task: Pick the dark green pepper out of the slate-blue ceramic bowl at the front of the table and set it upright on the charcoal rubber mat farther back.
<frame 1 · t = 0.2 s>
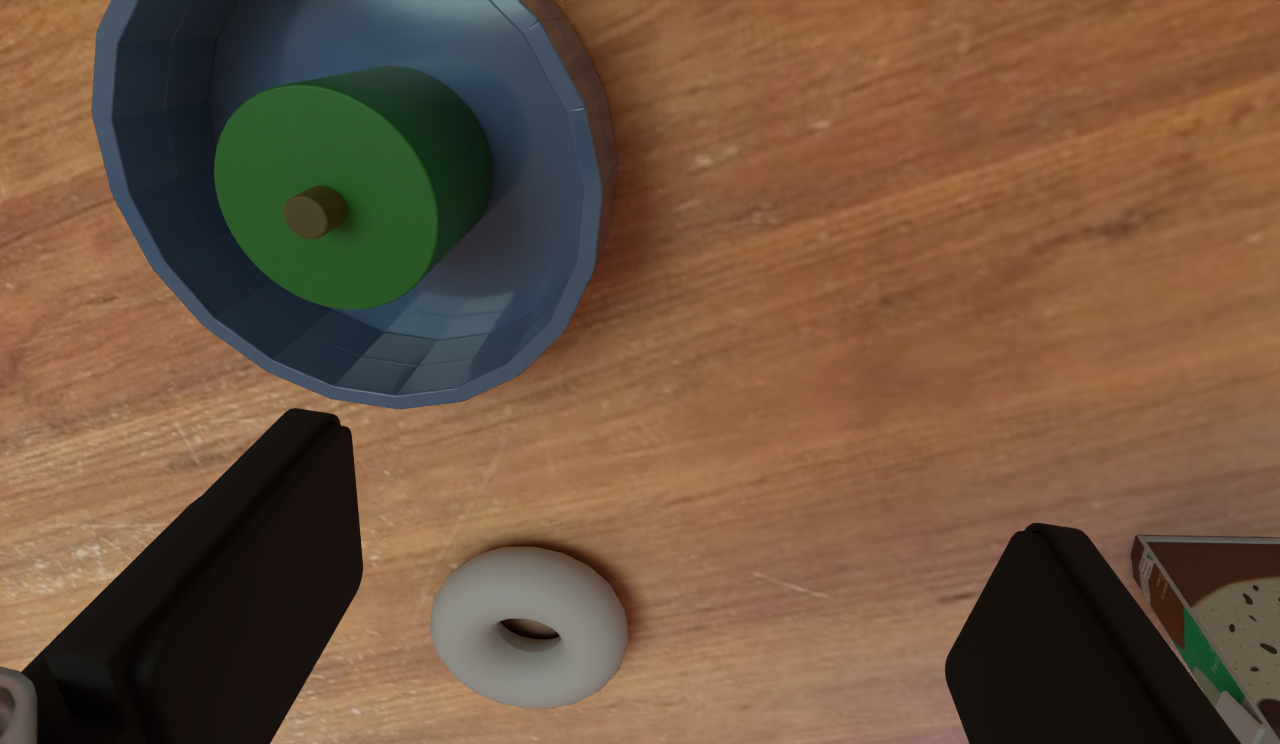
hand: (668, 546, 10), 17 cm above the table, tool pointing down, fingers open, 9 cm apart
donut: (537, 600, 36), on the table
serving bowl: (411, 160, 25), on the table
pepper: (406, 163, 24), resting on serving bowl
food container: (1218, 584, 32), on the table
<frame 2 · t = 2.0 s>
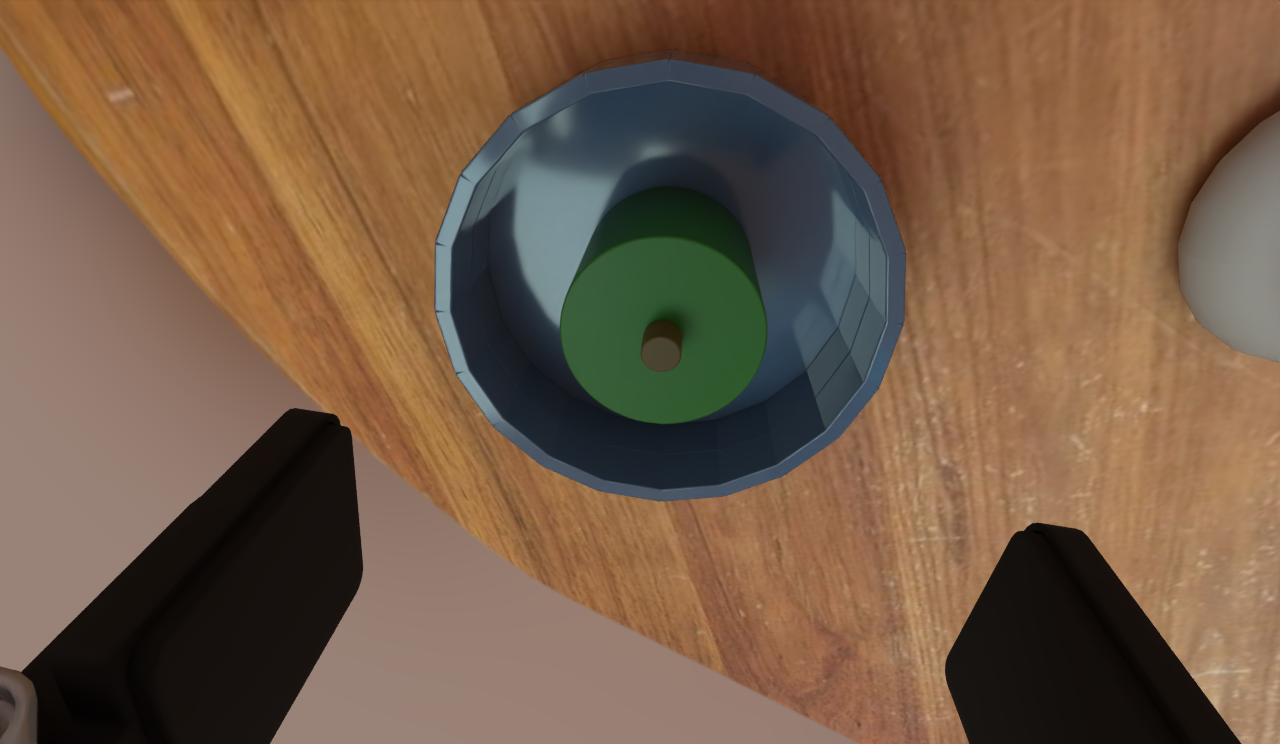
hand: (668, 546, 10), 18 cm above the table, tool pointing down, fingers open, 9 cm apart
serving bowl: (668, 265, 26), on the table
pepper: (668, 269, 26), resting on serving bowl
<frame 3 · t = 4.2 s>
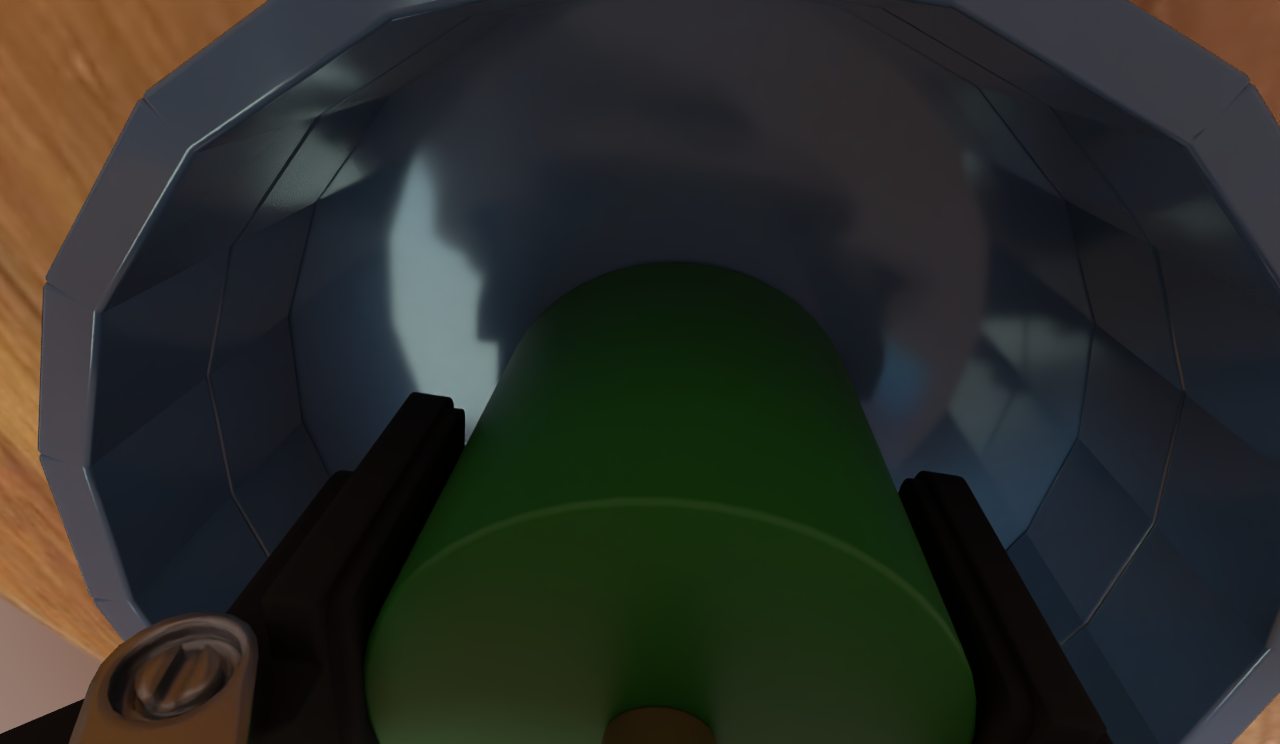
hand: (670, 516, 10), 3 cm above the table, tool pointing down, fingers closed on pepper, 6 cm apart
serving bowl: (674, 412, 13), on the table
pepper: (674, 427, 12), point 1 cm above the table, touching gripper, serving bowl
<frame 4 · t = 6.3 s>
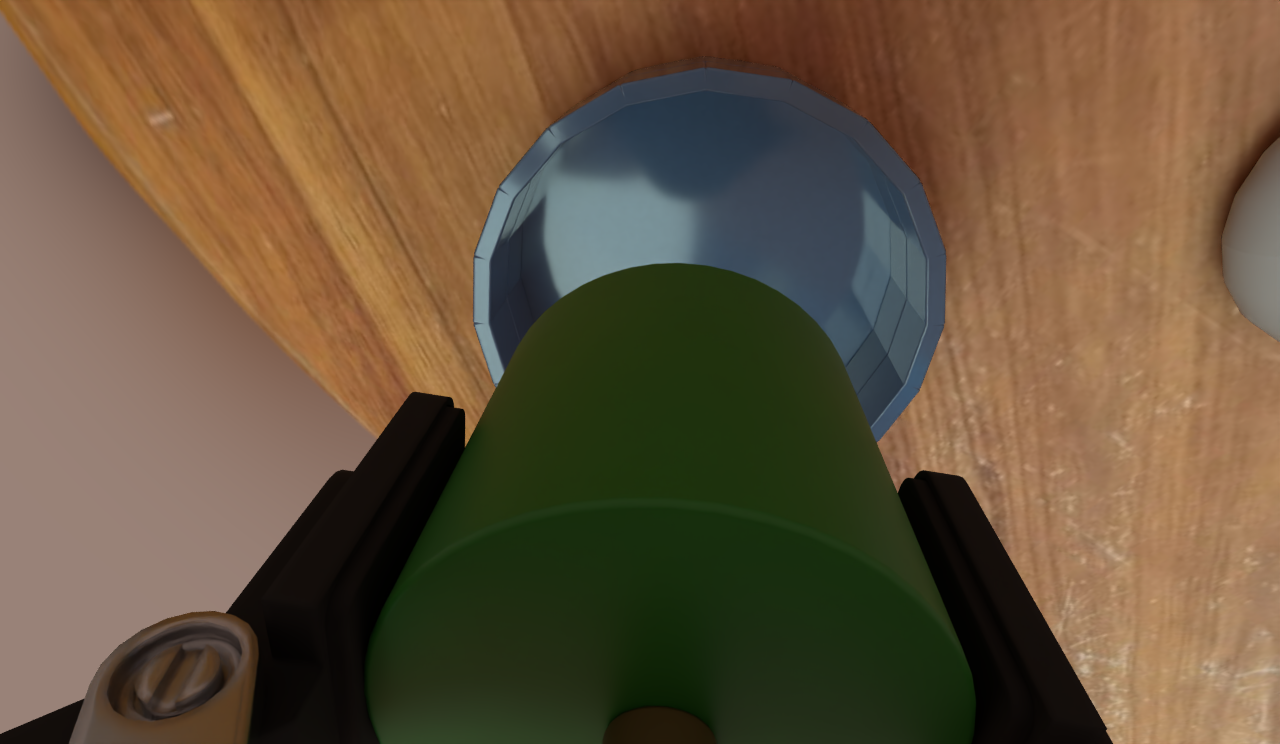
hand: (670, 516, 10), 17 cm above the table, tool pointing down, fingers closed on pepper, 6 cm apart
serving bowl: (701, 271, 26), on the table
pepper: (674, 427, 12), point 15 cm above the table, touching gripper
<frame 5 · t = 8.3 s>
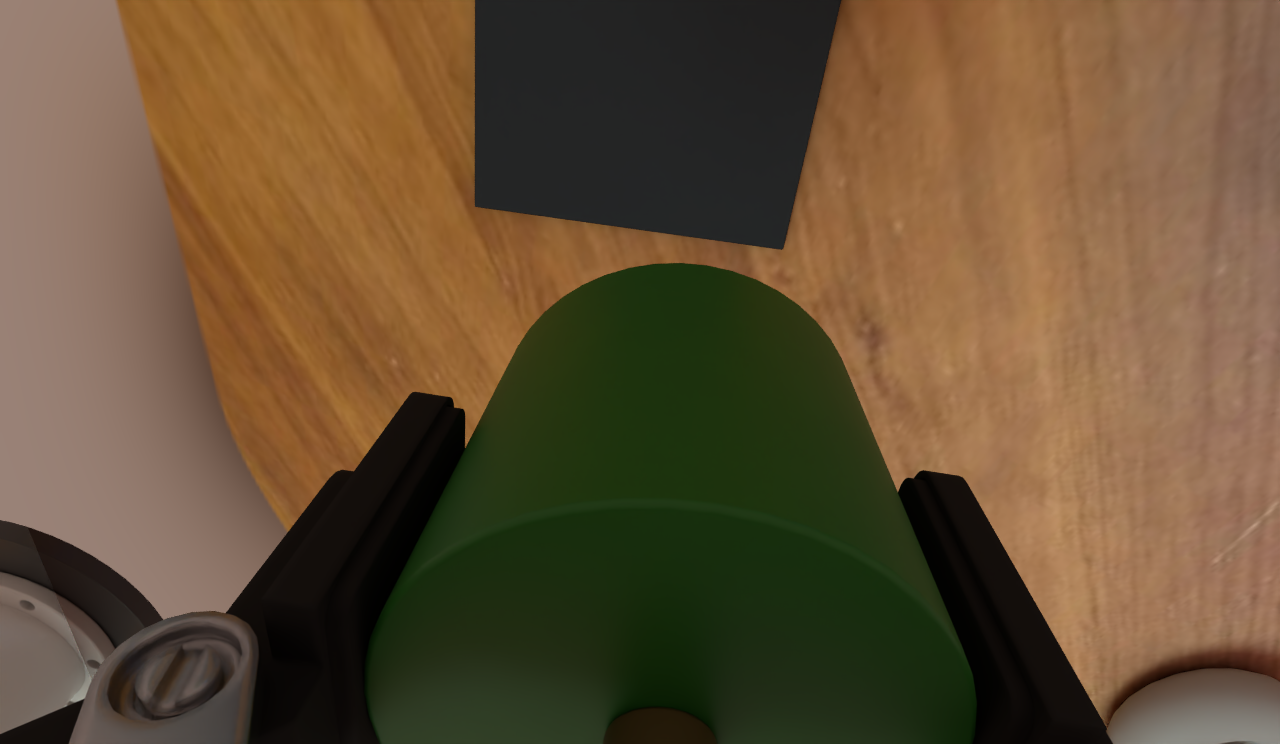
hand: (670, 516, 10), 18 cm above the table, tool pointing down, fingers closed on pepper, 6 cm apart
mat: (652, 25, 23), on the table
donut: (1188, 711, 37), on the table
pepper: (674, 427, 12), point 15 cm above the table, touching gripper
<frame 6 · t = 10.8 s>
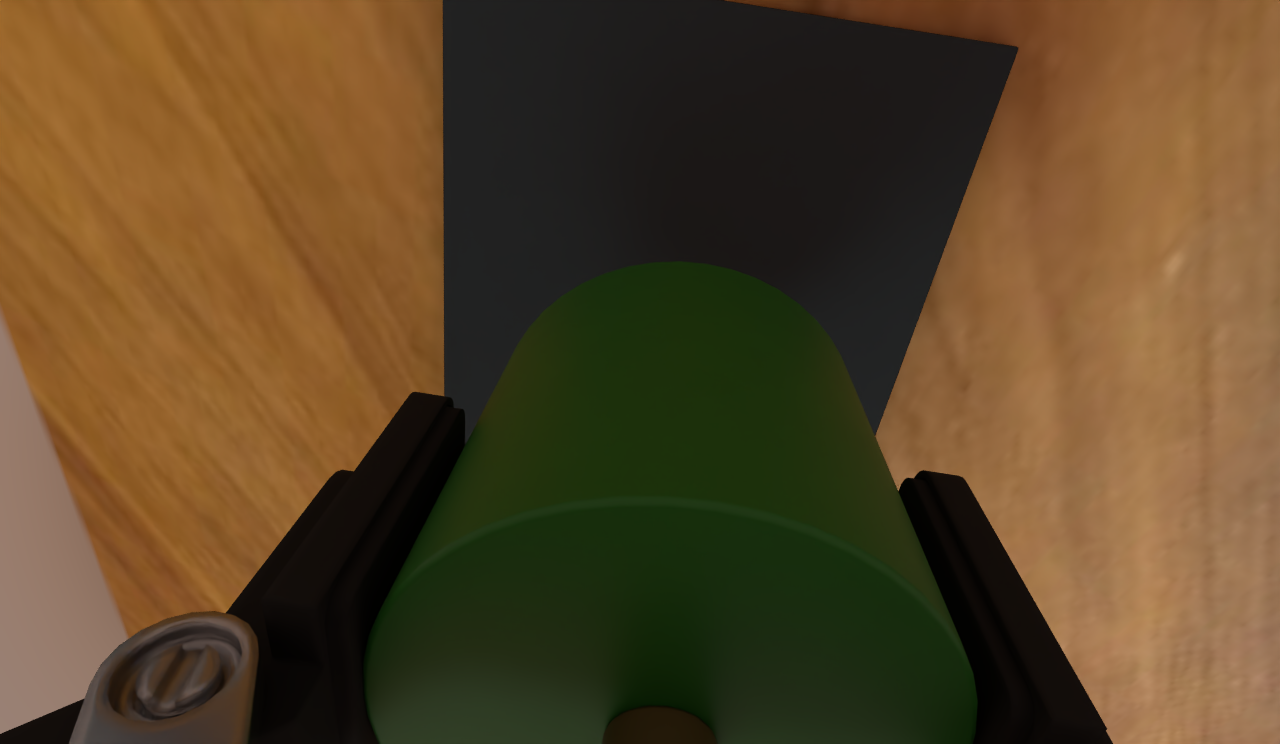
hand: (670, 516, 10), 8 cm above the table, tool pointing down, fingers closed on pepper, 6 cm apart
mat: (676, 306, 17), on the table
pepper: (674, 426, 12), point 6 cm above the table, touching gripper
when the fingers open (3 cm above the table, at t = 12.6 s): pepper stays where it is, resting on mat.
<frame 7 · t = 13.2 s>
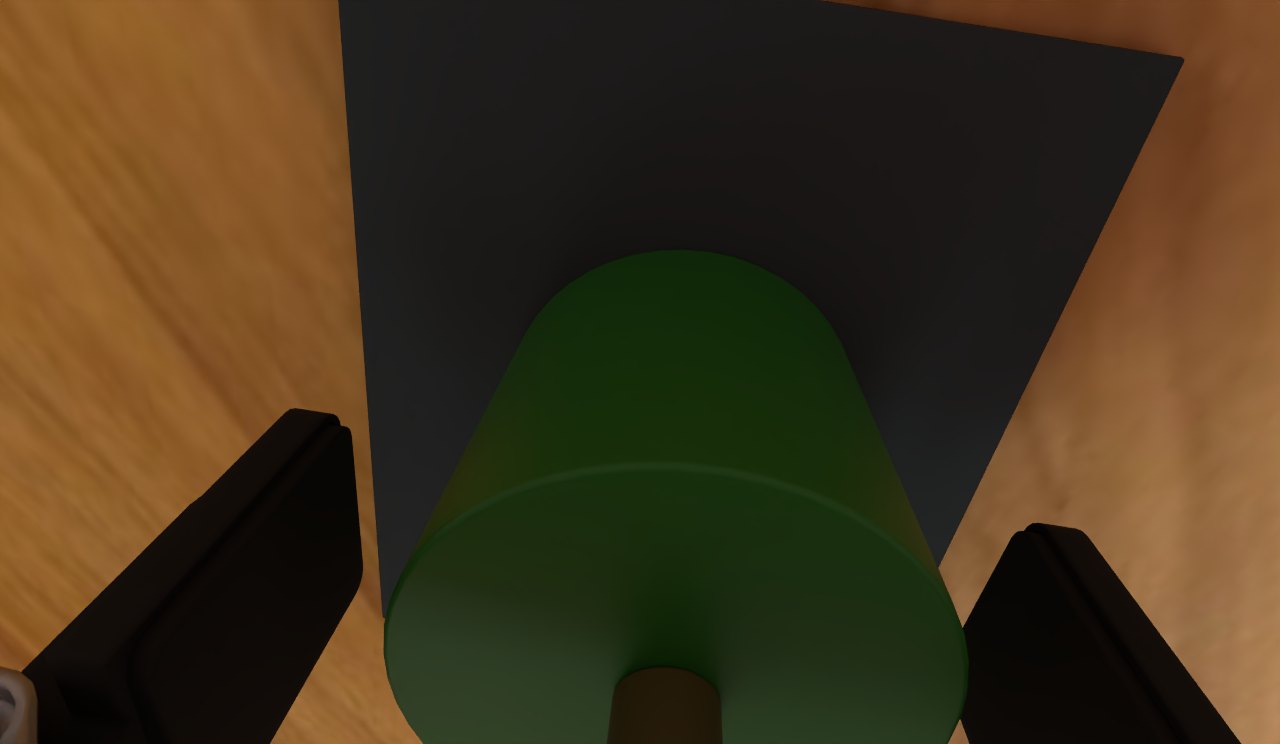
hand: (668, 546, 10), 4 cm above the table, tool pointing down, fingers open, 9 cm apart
mat: (678, 401, 13), on the table
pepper: (678, 411, 13), resting on mat
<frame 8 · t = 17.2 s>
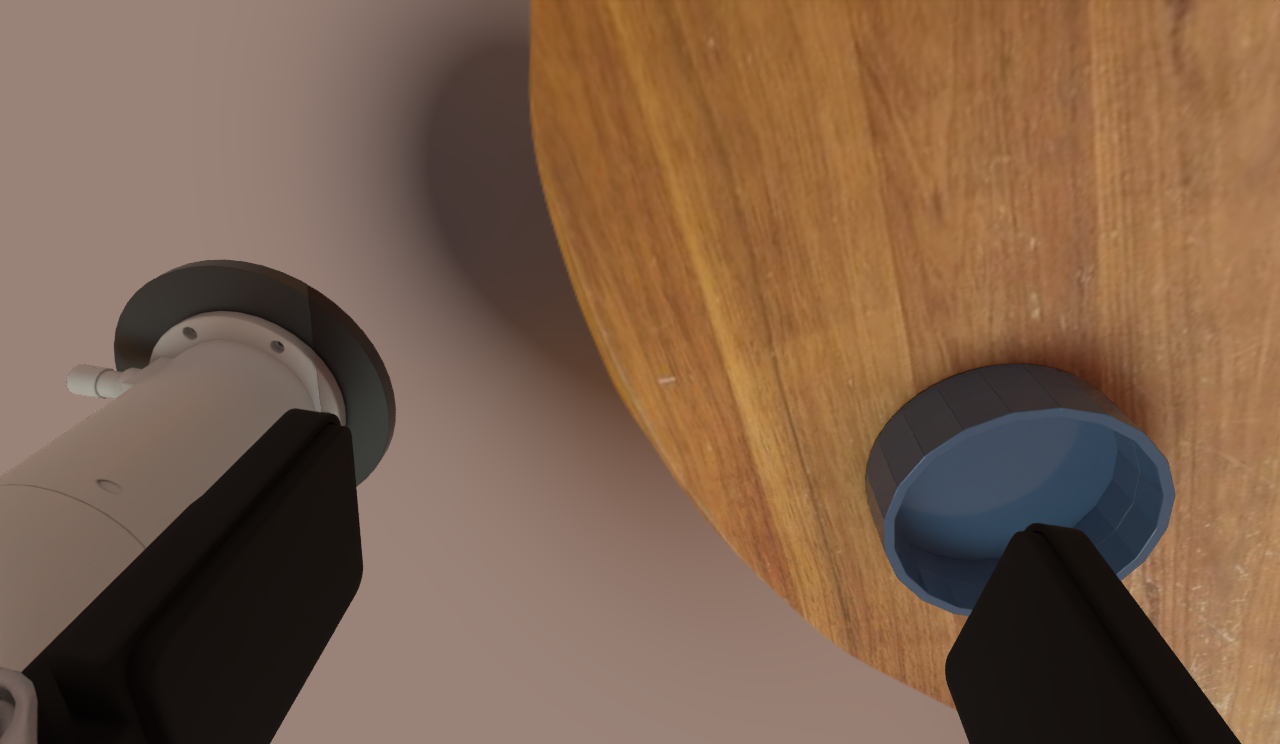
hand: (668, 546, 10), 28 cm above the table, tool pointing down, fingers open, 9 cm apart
serving bowl: (989, 470, 42), on the table
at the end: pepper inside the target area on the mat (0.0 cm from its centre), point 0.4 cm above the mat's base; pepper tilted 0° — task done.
